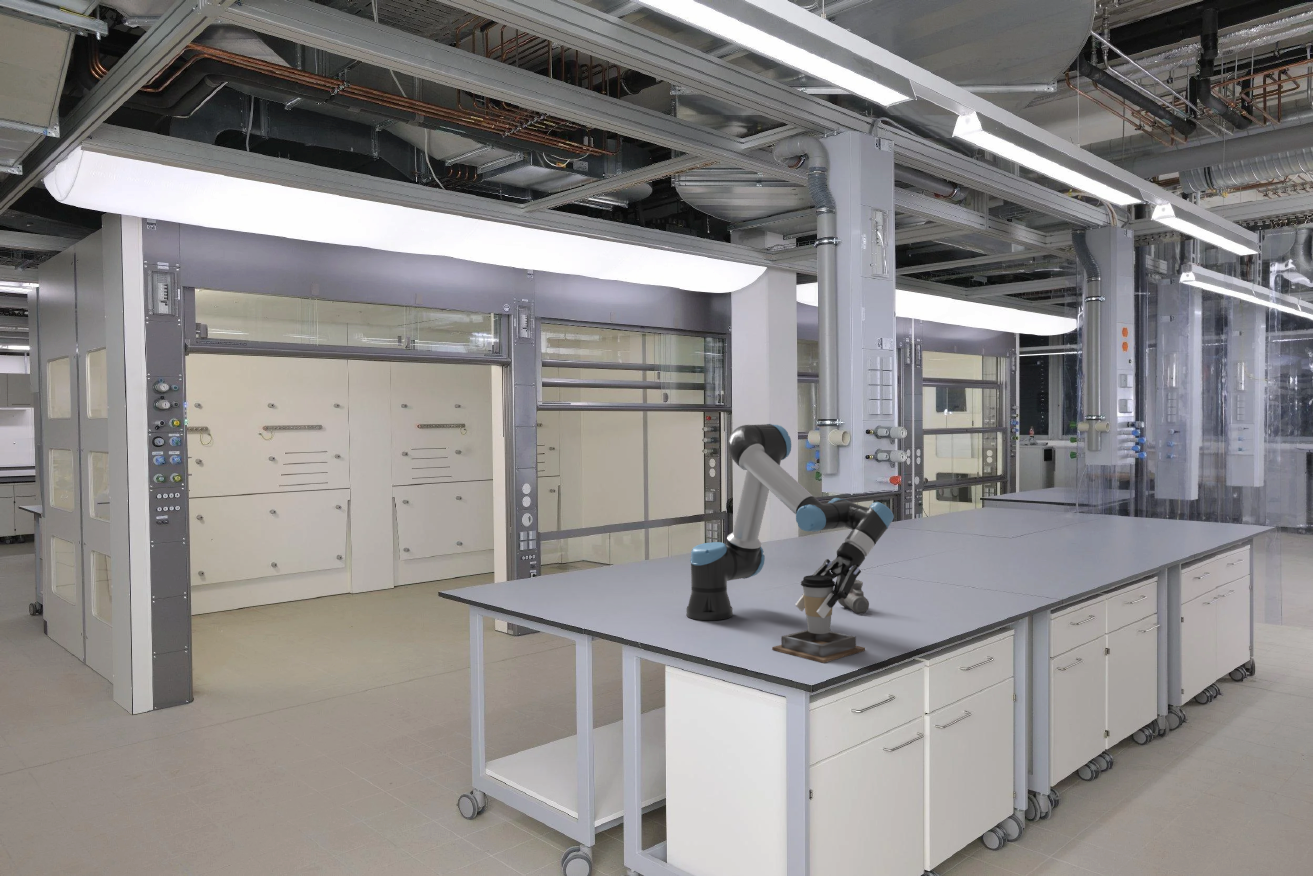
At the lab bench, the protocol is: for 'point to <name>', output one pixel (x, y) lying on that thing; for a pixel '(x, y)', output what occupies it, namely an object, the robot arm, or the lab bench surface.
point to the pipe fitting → (855, 599)
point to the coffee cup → (817, 602)
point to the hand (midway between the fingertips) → (809, 611)
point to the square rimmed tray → (818, 645)
